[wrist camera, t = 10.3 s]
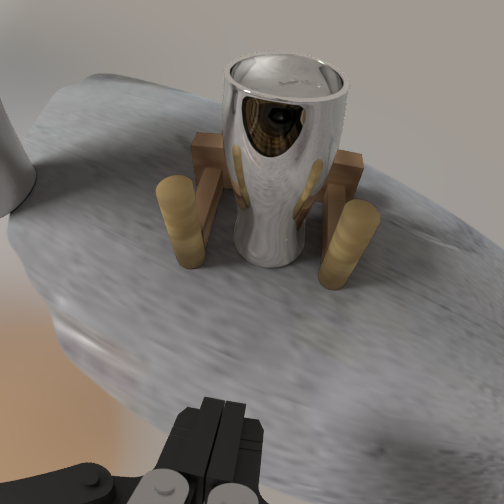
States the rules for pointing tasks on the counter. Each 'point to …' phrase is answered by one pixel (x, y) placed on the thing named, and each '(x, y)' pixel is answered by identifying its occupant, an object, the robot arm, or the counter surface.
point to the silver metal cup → (279, 147)
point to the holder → (216, 178)
